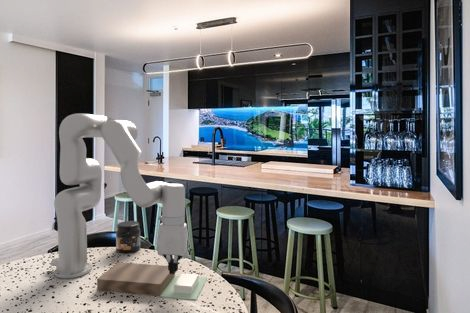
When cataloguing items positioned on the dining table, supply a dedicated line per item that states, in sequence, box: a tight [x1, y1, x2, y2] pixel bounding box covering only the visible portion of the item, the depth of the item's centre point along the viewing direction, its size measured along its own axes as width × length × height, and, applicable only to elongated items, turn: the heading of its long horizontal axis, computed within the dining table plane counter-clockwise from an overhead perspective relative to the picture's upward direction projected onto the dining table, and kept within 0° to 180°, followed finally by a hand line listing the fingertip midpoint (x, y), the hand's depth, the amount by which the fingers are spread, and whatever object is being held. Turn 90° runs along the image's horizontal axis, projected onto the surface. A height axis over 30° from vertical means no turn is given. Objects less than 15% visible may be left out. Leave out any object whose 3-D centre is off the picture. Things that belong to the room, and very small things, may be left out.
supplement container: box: [115, 220, 142, 254], centre depth 142 cm, size 10×10×12 cm
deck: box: [96, 261, 176, 297], centre depth 110 cm, size 22×14×4 cm, turn 82°
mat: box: [159, 275, 208, 301], centre depth 108 cm, size 12×15×1 cm
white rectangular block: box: [174, 272, 200, 294], centre depth 108 cm, size 6×9×2 cm, turn 172°
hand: (173, 272), depth 108 cm, fingers closed
